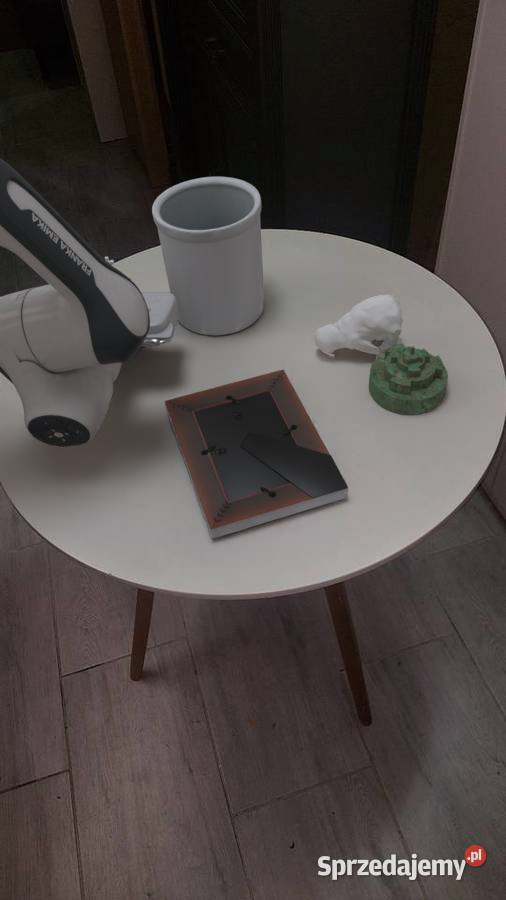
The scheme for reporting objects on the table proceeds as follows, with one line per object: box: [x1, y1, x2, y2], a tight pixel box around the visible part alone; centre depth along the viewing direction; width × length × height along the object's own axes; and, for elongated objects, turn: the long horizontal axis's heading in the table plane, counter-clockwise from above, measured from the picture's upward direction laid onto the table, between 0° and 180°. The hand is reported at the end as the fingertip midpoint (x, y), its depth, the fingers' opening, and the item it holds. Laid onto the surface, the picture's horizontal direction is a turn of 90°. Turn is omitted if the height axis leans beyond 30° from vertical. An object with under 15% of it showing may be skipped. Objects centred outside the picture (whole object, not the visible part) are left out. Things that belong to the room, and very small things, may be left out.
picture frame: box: [164, 369, 349, 540], centre depth 84 cm, size 16×2×22 cm
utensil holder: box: [151, 176, 265, 336], centre depth 99 cm, size 15×15×18 cm
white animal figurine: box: [313, 294, 403, 359], centre depth 94 cm, size 6×8×12 cm
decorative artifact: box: [368, 342, 449, 415], centre depth 89 cm, size 10×7×10 cm
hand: (114, 281), depth 97 cm, fingers closed
